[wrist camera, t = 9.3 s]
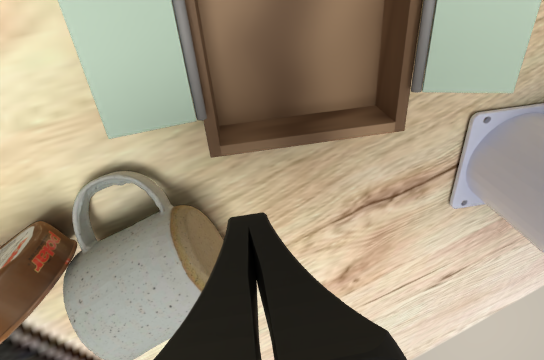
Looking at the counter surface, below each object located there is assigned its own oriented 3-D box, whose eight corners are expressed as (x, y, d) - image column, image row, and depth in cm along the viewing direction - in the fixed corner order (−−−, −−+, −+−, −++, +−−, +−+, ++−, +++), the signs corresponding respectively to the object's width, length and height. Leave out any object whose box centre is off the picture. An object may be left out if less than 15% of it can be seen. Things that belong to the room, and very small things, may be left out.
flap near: (168, -90, 12) (167, -88, 13) (26, -84, 11) (30, -81, 12) (207, 119, 17) (206, 115, 17) (108, 139, 15) (109, 135, 16)
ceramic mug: (239, 245, 27) (247, 332, 20) (153, 290, 28) (134, 386, 21) (151, 138, 21) (122, 210, 15) (48, 200, 22) (-20, 292, 16)
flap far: (411, 92, 17) (410, 89, 18) (513, 93, 16) (510, 90, 17) (439, -111, 13) (438, -109, 14) (581, -130, 12) (575, -127, 12)
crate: (405, -166, 15) (450, -196, 13) (379, 109, 22) (404, 130, 19) (157, -150, 14) (144, -179, 12) (211, 132, 21) (210, 157, 19)
